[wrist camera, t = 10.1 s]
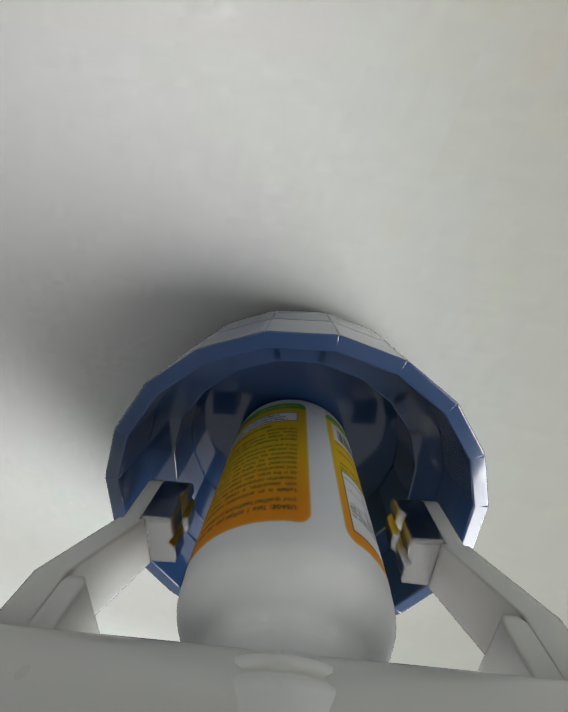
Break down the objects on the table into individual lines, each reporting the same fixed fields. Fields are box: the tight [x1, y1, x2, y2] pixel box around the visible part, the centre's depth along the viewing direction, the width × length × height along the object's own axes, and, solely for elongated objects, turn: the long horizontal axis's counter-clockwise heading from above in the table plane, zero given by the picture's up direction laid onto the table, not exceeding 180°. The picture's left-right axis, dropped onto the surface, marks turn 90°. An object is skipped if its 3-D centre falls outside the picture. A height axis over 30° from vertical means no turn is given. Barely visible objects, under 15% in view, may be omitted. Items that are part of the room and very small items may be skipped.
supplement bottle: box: [177, 400, 396, 712], centre depth 9 cm, size 5×5×10 cm
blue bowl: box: [106, 310, 489, 615], centre depth 12 cm, size 13×13×4 cm
